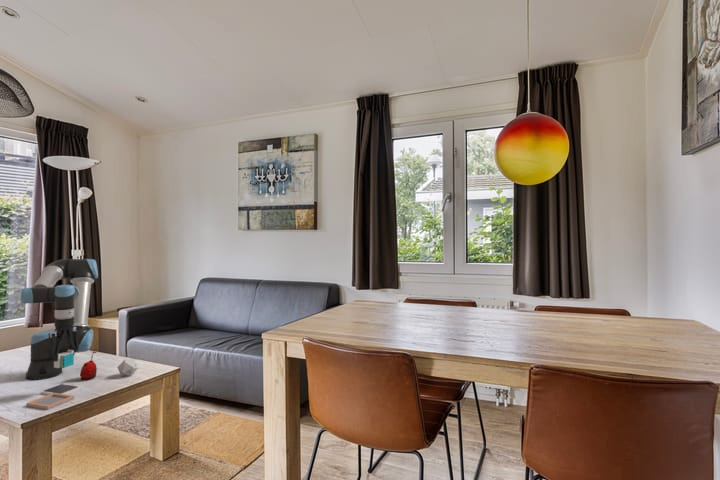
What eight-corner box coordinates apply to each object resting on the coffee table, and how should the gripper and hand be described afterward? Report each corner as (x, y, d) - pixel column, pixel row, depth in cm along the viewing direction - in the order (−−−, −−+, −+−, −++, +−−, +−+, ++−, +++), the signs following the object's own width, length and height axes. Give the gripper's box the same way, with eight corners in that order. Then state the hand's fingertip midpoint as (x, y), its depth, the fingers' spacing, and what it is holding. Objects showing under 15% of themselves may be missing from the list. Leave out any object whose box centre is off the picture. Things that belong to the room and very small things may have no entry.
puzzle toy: (63, 368, 185) (63, 356, 185) (53, 367, 186) (53, 355, 185) (74, 364, 190) (74, 352, 190) (63, 363, 191) (64, 351, 191)
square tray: (26, 406, 170) (26, 403, 170) (54, 395, 182) (54, 392, 182) (47, 409, 167) (47, 406, 167) (74, 398, 179) (74, 395, 179)
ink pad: (40, 393, 184) (40, 390, 184) (61, 385, 194) (61, 383, 194) (60, 396, 181) (60, 393, 181) (80, 388, 191) (80, 386, 191)
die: (123, 380, 204) (136, 363, 207) (110, 370, 206) (124, 354, 209) (131, 380, 212) (144, 364, 215) (119, 371, 214) (132, 355, 217)
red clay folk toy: (86, 375, 208) (86, 347, 208) (99, 375, 209) (100, 347, 209) (77, 381, 200) (77, 352, 200) (91, 381, 201) (91, 352, 201)
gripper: (51, 322, 177) (50, 373, 178) (88, 314, 196) (87, 359, 196) (38, 321, 179) (37, 371, 179) (76, 313, 197) (75, 358, 198)
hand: (63, 365), depth 188 cm, fingers closed on puzzle toy, 6 cm apart
